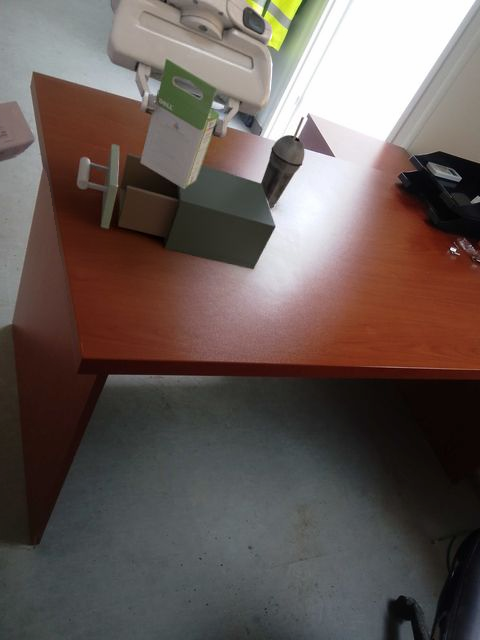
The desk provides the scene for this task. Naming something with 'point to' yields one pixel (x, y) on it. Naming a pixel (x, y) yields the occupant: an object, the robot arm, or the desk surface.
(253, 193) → the cabinet
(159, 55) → the robot arm
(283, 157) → the beverage cup
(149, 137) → the ink box
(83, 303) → the desk surface
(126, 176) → the drawer
